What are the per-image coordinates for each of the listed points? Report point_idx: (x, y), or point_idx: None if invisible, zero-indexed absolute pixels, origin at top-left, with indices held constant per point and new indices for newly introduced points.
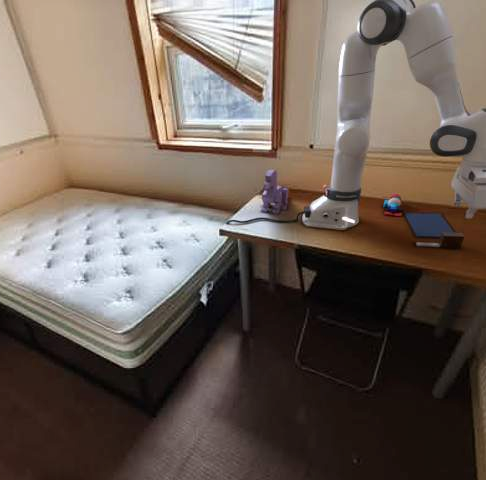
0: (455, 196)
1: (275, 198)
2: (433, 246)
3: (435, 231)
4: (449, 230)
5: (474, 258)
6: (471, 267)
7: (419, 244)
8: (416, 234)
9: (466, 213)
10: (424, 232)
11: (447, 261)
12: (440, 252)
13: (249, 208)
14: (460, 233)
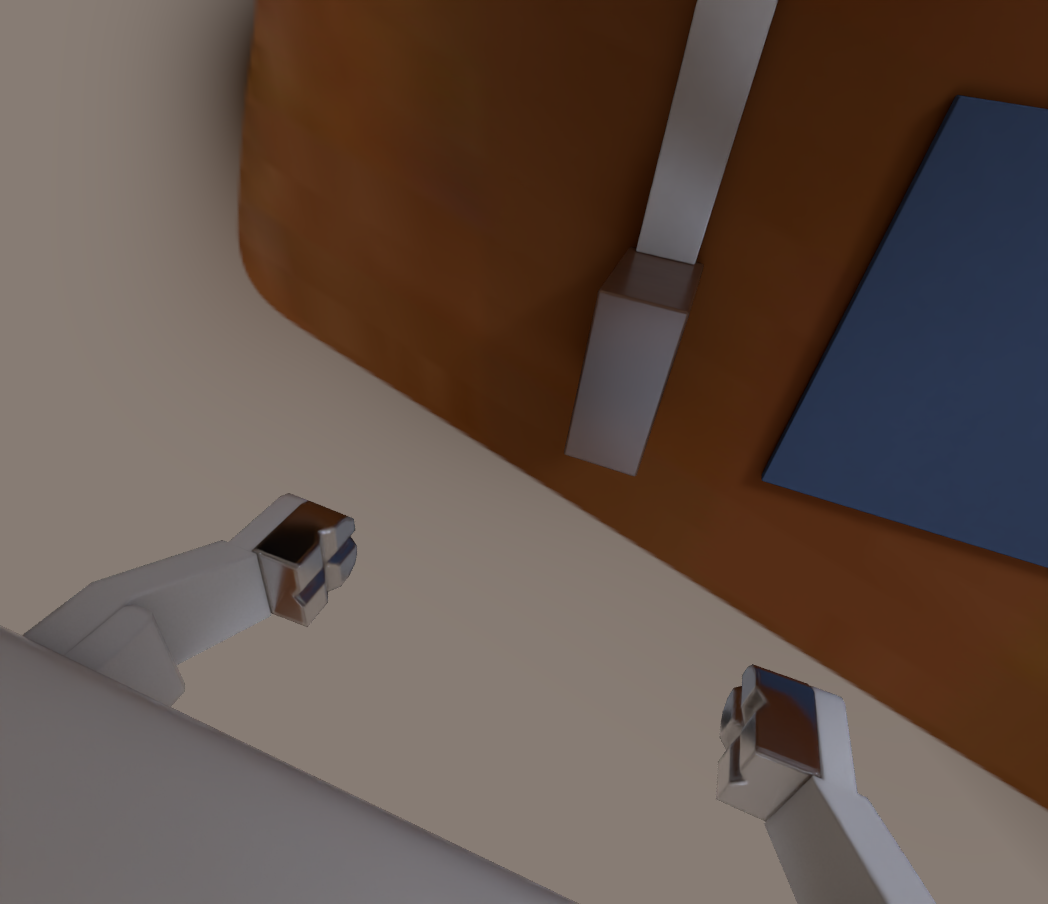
0: (881, 876)
1: None
2: (653, 187)
3: (965, 379)
4: (917, 502)
5: (453, 392)
6: (342, 305)
7: (709, 18)
8: (1012, 108)
9: (259, 536)
10: (1008, 247)
11: (398, 181)
12: (543, 201)
13: None
14: (622, 458)
